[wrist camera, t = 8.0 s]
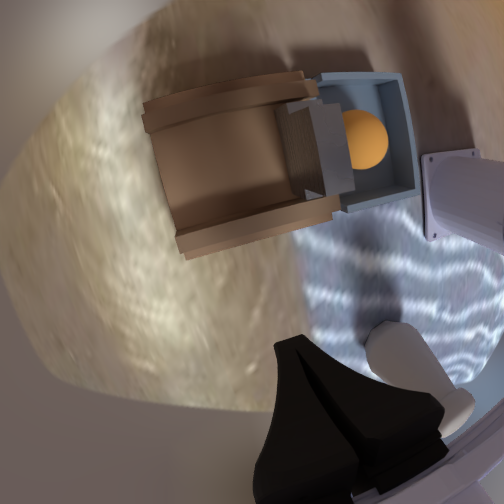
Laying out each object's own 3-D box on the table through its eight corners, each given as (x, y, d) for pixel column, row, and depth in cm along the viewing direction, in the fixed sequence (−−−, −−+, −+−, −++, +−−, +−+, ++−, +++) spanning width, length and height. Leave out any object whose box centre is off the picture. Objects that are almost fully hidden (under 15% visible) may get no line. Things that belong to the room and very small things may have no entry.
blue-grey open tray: (378, 80, 18) (401, 73, 15) (396, 188, 21) (420, 194, 18) (296, 83, 17) (313, 73, 14) (322, 206, 20) (341, 215, 17)
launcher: (292, 77, 17) (311, 64, 13) (320, 213, 20) (343, 225, 17) (148, 108, 16) (137, 98, 13) (187, 250, 19) (185, 269, 16)
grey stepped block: (305, 105, 15) (346, 89, 11) (321, 186, 17) (365, 200, 12) (273, 110, 15) (305, 92, 10) (291, 193, 17) (328, 209, 12)
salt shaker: (351, 334, 25) (431, 435, 13) (399, 301, 25) (491, 381, 13) (364, 368, 27) (429, 456, 15) (407, 338, 27) (480, 414, 15)
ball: (374, 104, 13) (312, 114, 16) (386, 173, 15) (324, 176, 17) (386, 107, 16) (334, 114, 18) (396, 163, 17) (345, 166, 20)
